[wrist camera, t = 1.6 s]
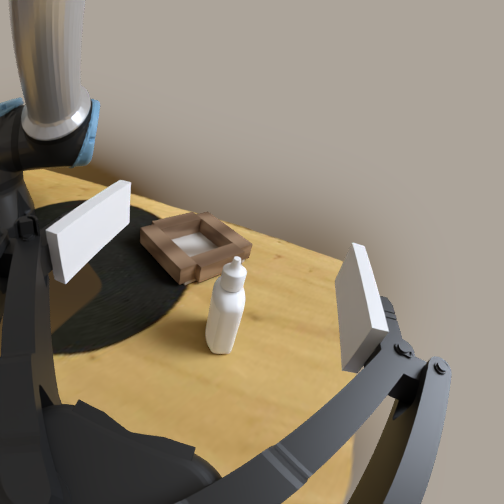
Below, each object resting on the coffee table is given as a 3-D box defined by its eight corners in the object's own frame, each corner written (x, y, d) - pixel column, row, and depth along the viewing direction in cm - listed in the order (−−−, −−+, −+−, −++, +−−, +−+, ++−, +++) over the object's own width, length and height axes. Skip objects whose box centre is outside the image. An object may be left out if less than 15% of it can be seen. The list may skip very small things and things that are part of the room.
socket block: (137, 241, 47) (137, 224, 46) (202, 224, 57) (204, 209, 55) (183, 291, 40) (184, 273, 39) (252, 263, 50) (256, 247, 48)
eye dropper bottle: (192, 345, 33) (204, 264, 27) (212, 316, 38) (228, 238, 31) (226, 360, 32) (248, 282, 26) (243, 329, 37) (267, 253, 31)
